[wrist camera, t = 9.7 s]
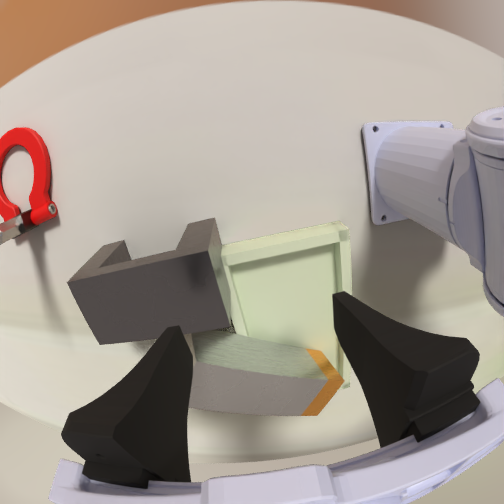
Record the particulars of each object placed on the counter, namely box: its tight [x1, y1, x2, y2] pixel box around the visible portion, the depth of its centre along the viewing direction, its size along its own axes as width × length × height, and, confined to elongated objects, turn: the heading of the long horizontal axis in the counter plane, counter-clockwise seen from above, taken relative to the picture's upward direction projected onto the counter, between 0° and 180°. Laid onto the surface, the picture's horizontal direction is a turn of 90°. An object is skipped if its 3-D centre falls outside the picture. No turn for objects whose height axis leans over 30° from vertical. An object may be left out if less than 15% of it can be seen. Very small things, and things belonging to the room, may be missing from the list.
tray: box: [221, 221, 352, 391], centre depth 23 cm, size 10×18×2 cm, turn 11°
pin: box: [184, 329, 345, 416], centre depth 21 cm, size 4×13×4 cm, turn 64°
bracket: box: [67, 218, 231, 345], centre depth 18 cm, size 9×5×6 cm, turn 101°
